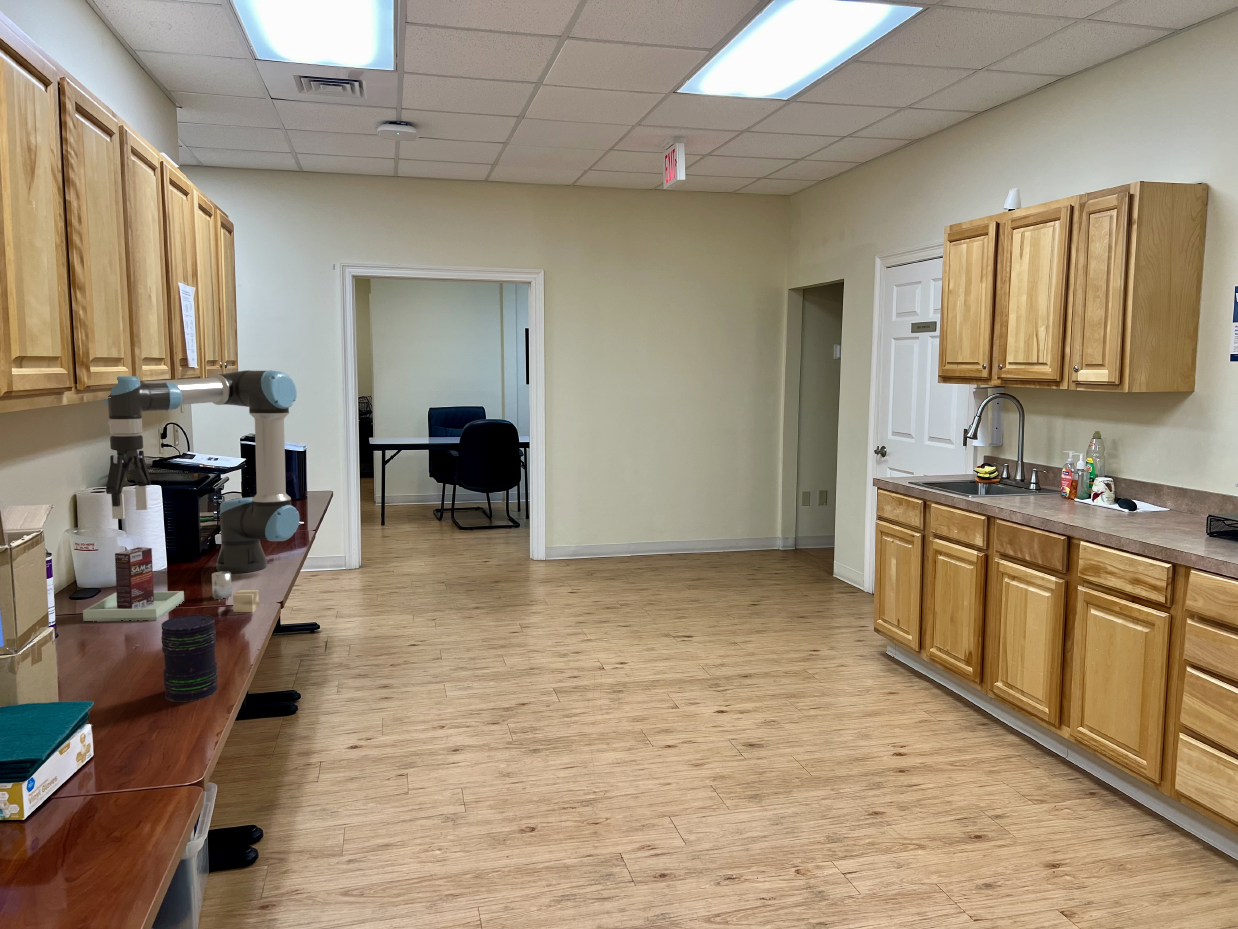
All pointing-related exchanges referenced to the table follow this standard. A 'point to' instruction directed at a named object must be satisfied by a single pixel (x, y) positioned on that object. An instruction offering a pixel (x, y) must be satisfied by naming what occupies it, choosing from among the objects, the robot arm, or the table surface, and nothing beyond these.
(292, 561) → the table surface
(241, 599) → the maple block
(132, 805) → the table surface
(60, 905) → the table surface
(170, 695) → the storage jar
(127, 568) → the supplement box
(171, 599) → the sage tray
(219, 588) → the metal cylinder
